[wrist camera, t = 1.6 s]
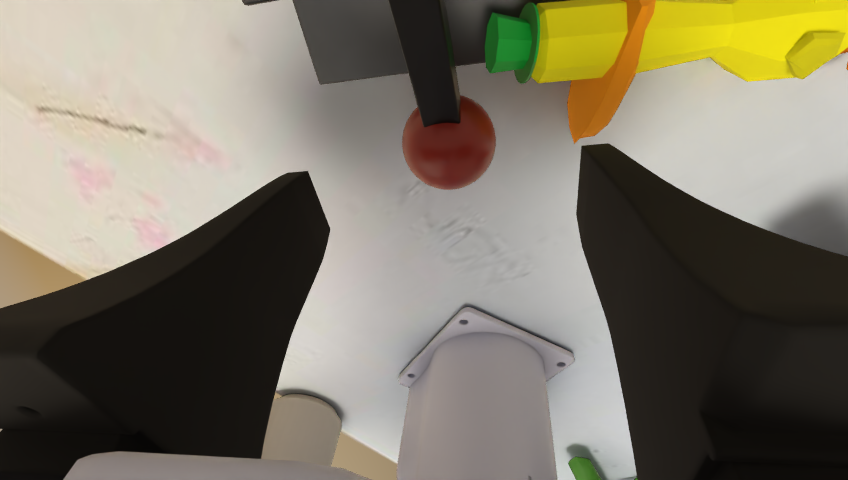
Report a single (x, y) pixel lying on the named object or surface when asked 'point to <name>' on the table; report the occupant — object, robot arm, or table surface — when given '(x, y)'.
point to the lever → (439, 102)
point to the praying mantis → (584, 469)
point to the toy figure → (659, 44)
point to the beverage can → (301, 430)
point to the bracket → (386, 34)
